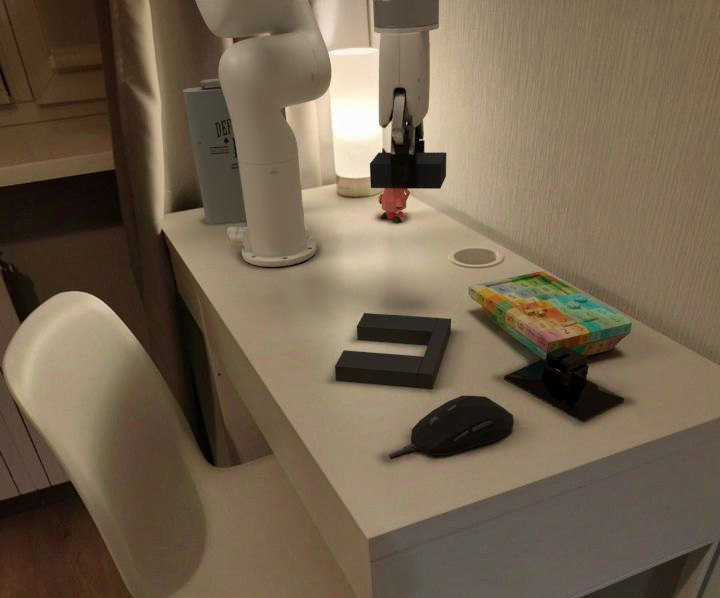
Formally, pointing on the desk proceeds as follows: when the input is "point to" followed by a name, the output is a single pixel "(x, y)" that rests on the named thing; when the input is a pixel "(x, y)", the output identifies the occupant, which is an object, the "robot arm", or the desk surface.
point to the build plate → (565, 384)
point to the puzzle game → (550, 314)
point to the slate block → (428, 170)
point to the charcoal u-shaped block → (393, 365)
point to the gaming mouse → (459, 426)
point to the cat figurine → (393, 202)
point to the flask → (215, 153)
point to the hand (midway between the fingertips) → (408, 178)
